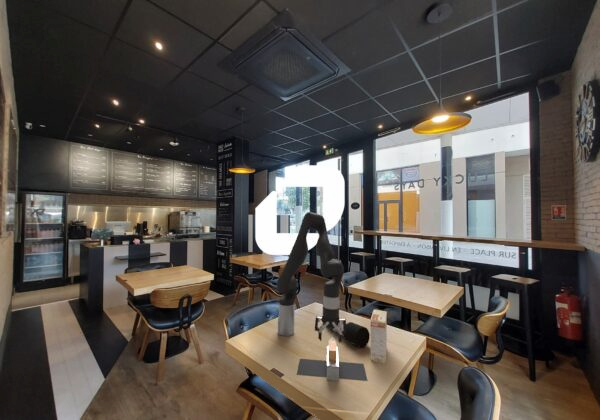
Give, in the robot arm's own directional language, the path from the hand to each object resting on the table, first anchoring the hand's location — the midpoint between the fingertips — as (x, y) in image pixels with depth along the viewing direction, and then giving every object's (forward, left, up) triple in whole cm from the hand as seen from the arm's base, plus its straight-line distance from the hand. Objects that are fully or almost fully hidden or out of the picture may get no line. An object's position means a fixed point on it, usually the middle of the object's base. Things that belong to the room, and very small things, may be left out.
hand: (330, 340), depth 112 cm
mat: (+1, -1, -12) cm, 12 cm away
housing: (+1, -1, -12) cm, 12 cm away
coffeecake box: (+25, +15, -13) cm, 31 cm away
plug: (+1, +2, -6) cm, 6 cm away
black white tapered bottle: (+7, +32, -13) cm, 35 cm away
